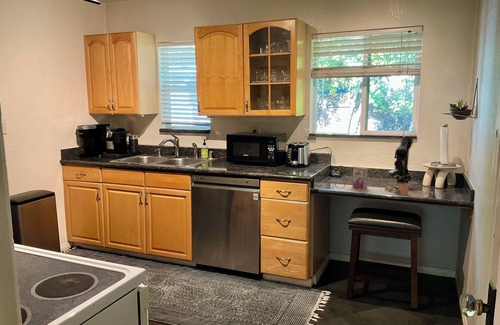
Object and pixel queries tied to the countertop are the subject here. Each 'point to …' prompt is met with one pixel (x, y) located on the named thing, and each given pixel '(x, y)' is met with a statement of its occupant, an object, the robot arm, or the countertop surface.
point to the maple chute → (392, 189)
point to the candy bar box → (360, 177)
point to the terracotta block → (403, 188)
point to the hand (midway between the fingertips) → (399, 187)
